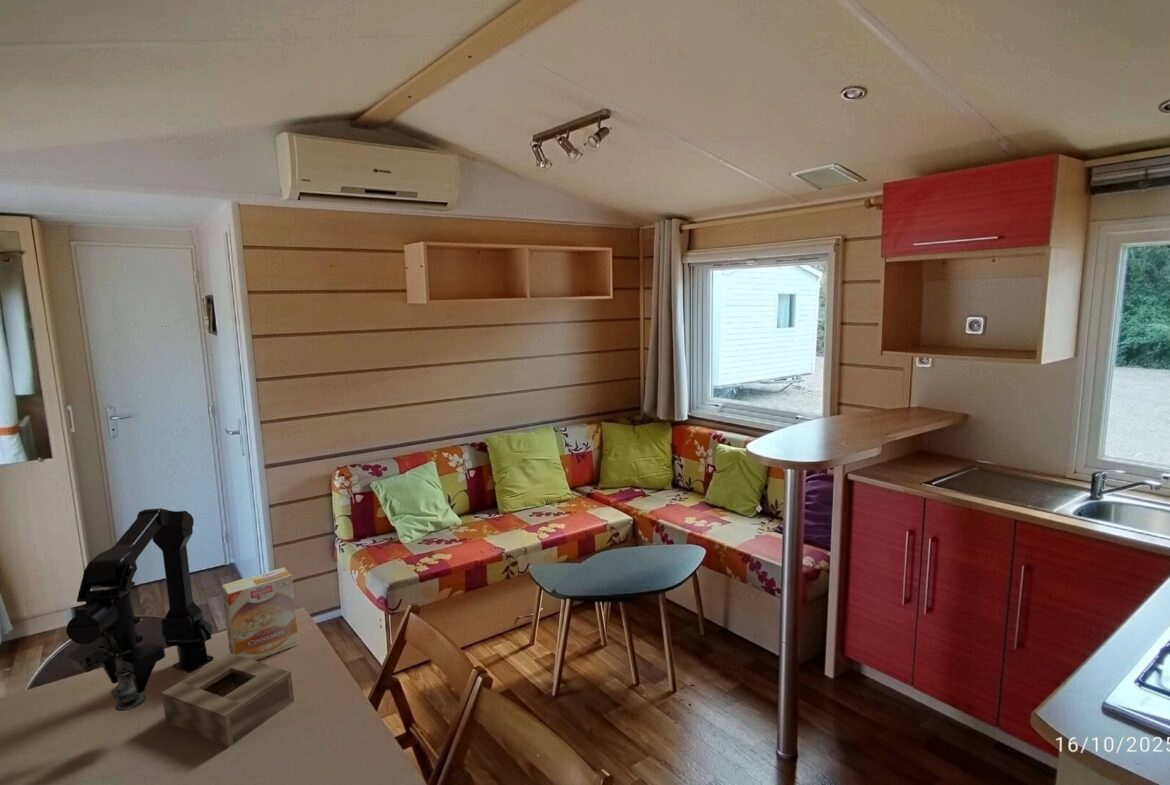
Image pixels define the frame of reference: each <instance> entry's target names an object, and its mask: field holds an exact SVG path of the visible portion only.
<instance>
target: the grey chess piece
mask: <svg viewBox="0 0 1170 785" xmlns="http://www.w3.org/2000/svg"><path fill="white" fill-rule="evenodd" d="M124 656H125V655H122V654H119V655H118V656H117V657H116V658H115V664H116V670H117V671H116V672H115V675H116V676H117V679H118V682H117V685H115V686H114V687H113V688H112V690H111V691H110V695H111V696H112V697H113V699H114V700H115V701H116V702H117V703H116V704H115V707H114V709H115V710H116V711H117V712H127V711H130V710H133V709H136V708H138V707H140V706H141V705H142V704H144V702H146V700H147V696H146V695H144V694H143V692H141V693H137V690H136V688H135V685H134V682H133V679H132V676H131V673H128V672H125V671H123V670H122V669H124V666H123V664H122V659H123V658H124Z"/></svg>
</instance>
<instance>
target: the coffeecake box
mask: <svg viewBox="0 0 1170 785" xmlns="http://www.w3.org/2000/svg"><path fill="white" fill-rule="evenodd" d="M221 590H222V599H223V600H222V601H223V607H224V608H223V609H224V615H225V623H226V631H227V638H228V639H227V640H228V648H229V653H231V654H234V655H238V656H241V657H244V658H247V659H251V660H254V661H258V660H261V659H263V658H266V657H269V656H271V655H274V654H277V653H279V652H282V651H286V650H287V649H290V648H293V647H297V646H298V645H299V644H300V640H299V632H298V625H297V624H298V623H297V615H296V614H297V611H296V606H295V605H296V603H295V594H294V593H295V592H294V586H293V578H292V574H291V573H290V572H289V571H288V570H287V569H286V568H285V567H280V568H275V569H274V570H270V571H267V572H263V573H259V574H255V575H252V576H248V577H245V578H241V579H238V580H235V581H231V582H227V583H224V584H222V585H221Z"/></svg>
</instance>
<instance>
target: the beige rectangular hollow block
mask: <svg viewBox="0 0 1170 785" xmlns="http://www.w3.org/2000/svg"><path fill="white" fill-rule="evenodd" d="M231 685H235V686H238V687H237V688H235V689H234V690H232V691H230V692H229V693H228V694H226V695H224V696H220V695H218V693H220V692H221V691H224V689H227V688H229V687H230V686H231ZM161 695H162V696H161V697H162V702H163V703H162V704H163V710H164V711H163V712H164V717H165V723H167V724H170V725H172V726H175V727H177V728H180V729H182V730H185V731H188V732H190V733H193V734H195V735H197V736H200V737H203V738H205V739H208V740H210V741H212V742H215V743H218V744H220V745H223V746H225V747H227V748H230V747H231V746H233V745H234V744H236V743H237V742H239V740H242V738H244V737H245V736H247V735H248V734H250V733H251V732H253V731H254V730H256V729H257V728H258V727H259V726H261V725H262V724H264V723H265V722H266V721H267V720H269V719H270V718H272V717H274V716H275V715H276V714H278V713H279V712H280V711H282V710H283V709H285V708H286V707H287V706H288V705H290V704H292V702H294V701H295V697H294V696H295V695H294V688H293V679H292V671H290V670H285V669H283V668H279V667H276V666H273V665H270V664H266V663H263V662H260V661H258V660H256V661H254V660H251V659H247V658H244V657H241V656H238V655H234V654H231V653H230V652H229V653H228V654H226V655H225V656H223V657H221V658H219V659H217V660H215V661H214V662H212V663H211V664H209V665H207V666H205V667H203V668H202V669H200V670H198V671H196V672H195V673H193V674H191V675H189V676H187V678H186V677H185V678H184V679H183V680H181V681H180V682H177V683H176V684H174V685H172V686H171V687H169V688H167V689H165V690H163V691H161Z"/></svg>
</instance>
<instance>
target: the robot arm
mask: <svg viewBox="0 0 1170 785" xmlns="http://www.w3.org/2000/svg"><path fill="white" fill-rule="evenodd" d="M193 527H194V517H193V516H192V514H191V513H189V512H188V511H187V510H177V511H176V510H175V511H174V510H169V509H165V508H163V507H160V508H148V509H143V510H140V511H139V512H138V513H137V517H136V519H135V520H134V522H132V524H131V525H130V526H129V528H128V529H127V530H126V531H125V532H124V534H122V536H121V538H120V539H119V540H118V541H117V542H116V543H115V544H114V545H113V546H112V547H111V548H109V549H107V550H105V551H103V552H100V553H98V555H96V556H95V557H94V558H92V559H91V560H90V561H89V562H88V564H87V565H86V566H85V569H84V570H83V574H82V578H81V583H80V586H79V589H78V590H79V591H78V593H77V594H78V595H77V597H76V598H77V599H76V602H77V603H84V602H85V604H83V605H82V606H79V607H78V608H77V609H75V611H74V612H75V613H74V614H75V616H74V617H73V618H71V619H70V620H69V621H68V623H67V626H66V629H65V633H66V634H67V637H68V638H69V640H70V641H71V642H74V643H76V644H78V645H79V646H78V647H76V648H75V649H74V650H72V652H70V653H69V654H68V656H67V658H68V659H69V661H70V662H71V663H72V664H73V666H74V667H75V669H76V670H80V671H83V672H84V673H89V672H91V671H93V670H94V669H96V667H100V666H101V667H102V669H103V671H104V672H105V674H106V675H107V677H108V678H109V680H110V682H111V684H114V685H115V684H118V679H117V676H116V675H115V672H116V671H117V670H116V664H115V658H116V657H117V656H118V655H119V654H122V655H125V656H124V658H123V659H122V664H123V666H124V669H122V670H123V671H125V672H128V673H131V676H132V679H133V682H134V685H135V688H136V690H137V693H141V692H142V693H143V692H144V691H146V690H145V689H146V687H147V685H148V681H149V680H150V677H151V675H152V673H153V670H154V667H155V666H156V664H157V663H158V662H159V661H160V660H162V659H164V658H165V657H166V651H165V647H164V646H161V645H158V644H155V643H152V642H146V643H144V644H142V645H141V646H140V645H137V644H138V643H141V642H142V641H144V638H143V635H142V634H138V630H137V624H138V623H141V618H140V616H137V615H135V610H134V605H133V598H132V591H131V589H132V588H133V587H134V586H135V585H136V582H135V581H132V580H133V578H134V575H135V573H136V572H137V570H138V565H137V560H138V558H139V556H140V555H141V554H142V552H143V551H144V550H145V548H147V546H148V545H149V543H150V542H151V541H152V542H153V543H154V544H155V546H157V547H158V548H159V549H160V550H161V552H162V558H163V566H164V567H163V568H164V574H165V581H166V590H167V598H168V607H169V610H168V611H167V613H166V615H165V617H164V618H163V619H162V620H161V627H162V630H161V634H162V635H161V636H162V637H163V640H164V641H165V643H166V647H168V648H169V647H176V650H177V656H178V657H177V658H178V661H177V662H176V663H174V664H172V667H173V668H174V669H177V670H180V671H183V672H186V673H192V672H193V671H195V670H197V669H199V668H201V667H202V666H204V665H205V664H207V663H209V662H210V661H213V660H214V656H213V655H209V654H208V652H207V651H208V650H207V646H206V642H207V641H210V640H211V639H212V637H213V636H212V634H213V625H212V624H211V623H210V622H208V621H207V620H205V619H204V615H203V610H202V609H201V608H200V607H199V606H198V605H197V604H196V603H195V602H194V599H193V590H192V581H191V574H190V565H189V556H188V548H187V544H188V542H189V541H190V539H191V537H192V536H193V532H194V531H193ZM103 588H106V589H103ZM92 589H99V590H92Z"/></svg>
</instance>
